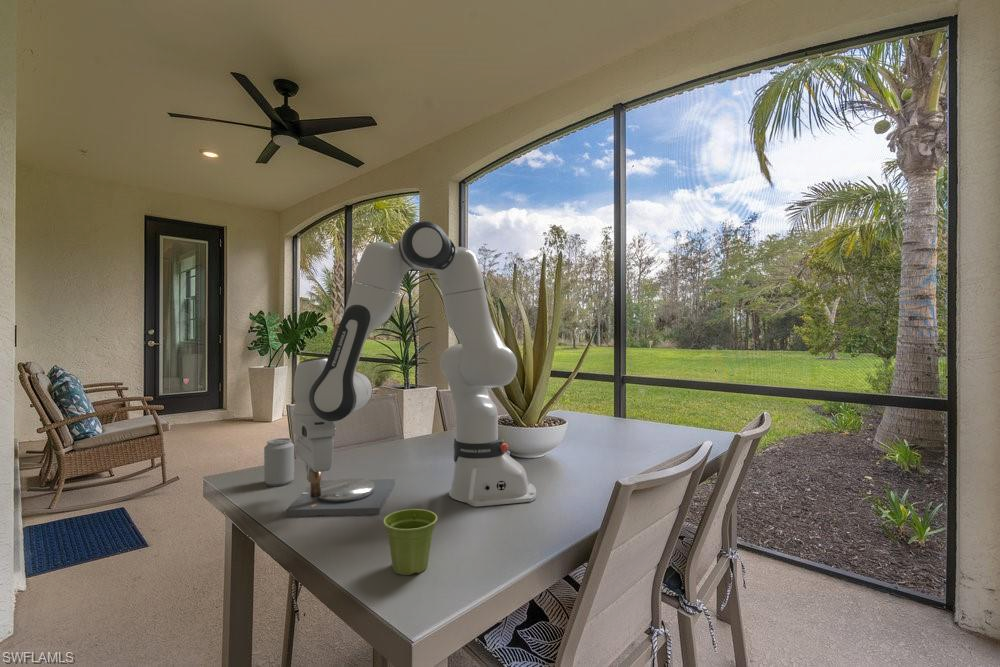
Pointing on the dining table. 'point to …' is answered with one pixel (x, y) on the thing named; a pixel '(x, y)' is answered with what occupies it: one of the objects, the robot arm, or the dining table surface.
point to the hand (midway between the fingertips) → (311, 481)
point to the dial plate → (355, 507)
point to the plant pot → (410, 539)
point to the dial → (339, 488)
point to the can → (278, 462)
